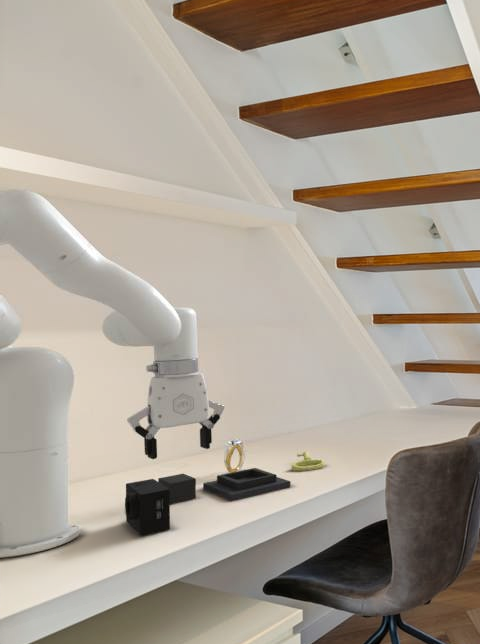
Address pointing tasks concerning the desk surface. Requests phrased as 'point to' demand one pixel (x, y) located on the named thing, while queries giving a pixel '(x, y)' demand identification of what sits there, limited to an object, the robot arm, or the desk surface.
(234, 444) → the ring
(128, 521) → the digital camera
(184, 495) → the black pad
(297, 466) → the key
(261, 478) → the base pad
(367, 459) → the desk surface
